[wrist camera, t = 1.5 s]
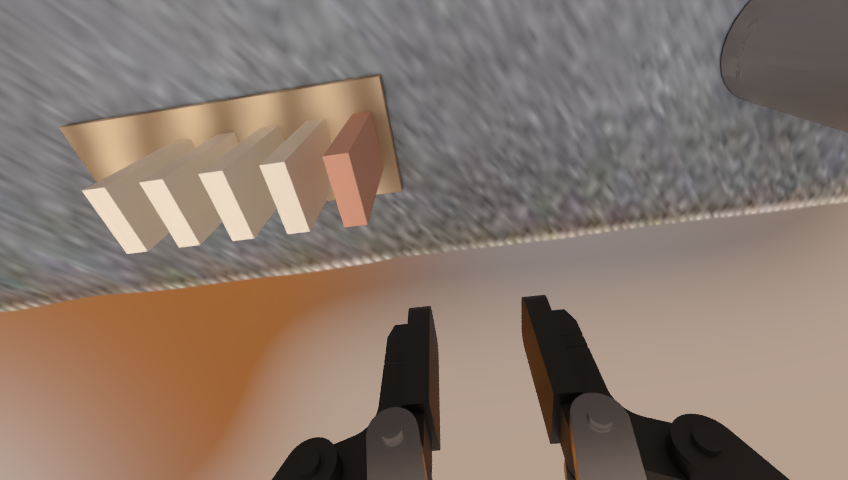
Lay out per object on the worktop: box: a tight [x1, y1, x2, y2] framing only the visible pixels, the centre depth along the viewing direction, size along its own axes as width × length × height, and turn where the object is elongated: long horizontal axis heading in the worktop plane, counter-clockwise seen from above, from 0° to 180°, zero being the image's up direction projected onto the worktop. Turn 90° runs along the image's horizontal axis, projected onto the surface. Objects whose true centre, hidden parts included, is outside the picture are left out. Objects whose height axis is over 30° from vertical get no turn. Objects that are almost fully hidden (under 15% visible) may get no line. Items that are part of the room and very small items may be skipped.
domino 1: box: [82, 139, 195, 254], centre depth 29 cm, size 2×5×10 cm, turn 9°
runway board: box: [60, 74, 403, 201], centre depth 33 cm, size 28×10×1 cm, turn 99°
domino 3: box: [198, 125, 284, 241], centre depth 28 cm, size 2×5×10 cm, turn 9°
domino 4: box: [259, 118, 332, 234], centre depth 28 cm, size 2×5×10 cm, turn 8°
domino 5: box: [322, 111, 384, 227], centre depth 27 cm, size 2×5×10 cm, turn 8°
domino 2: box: [139, 132, 239, 248], centre depth 29 cm, size 2×5×10 cm, turn 8°
